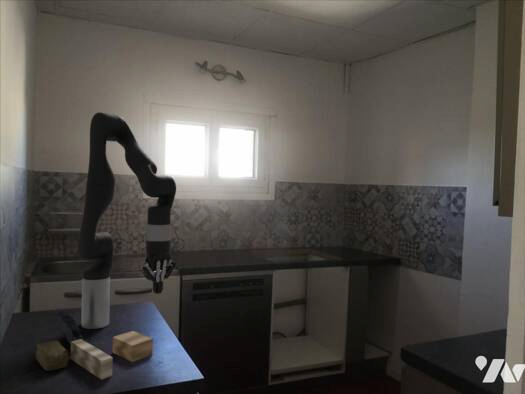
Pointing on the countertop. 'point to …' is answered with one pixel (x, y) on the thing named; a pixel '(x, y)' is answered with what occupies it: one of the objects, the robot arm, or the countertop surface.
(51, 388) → the countertop surface
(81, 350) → the board
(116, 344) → the oak block
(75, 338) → the stone
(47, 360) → the stone block
